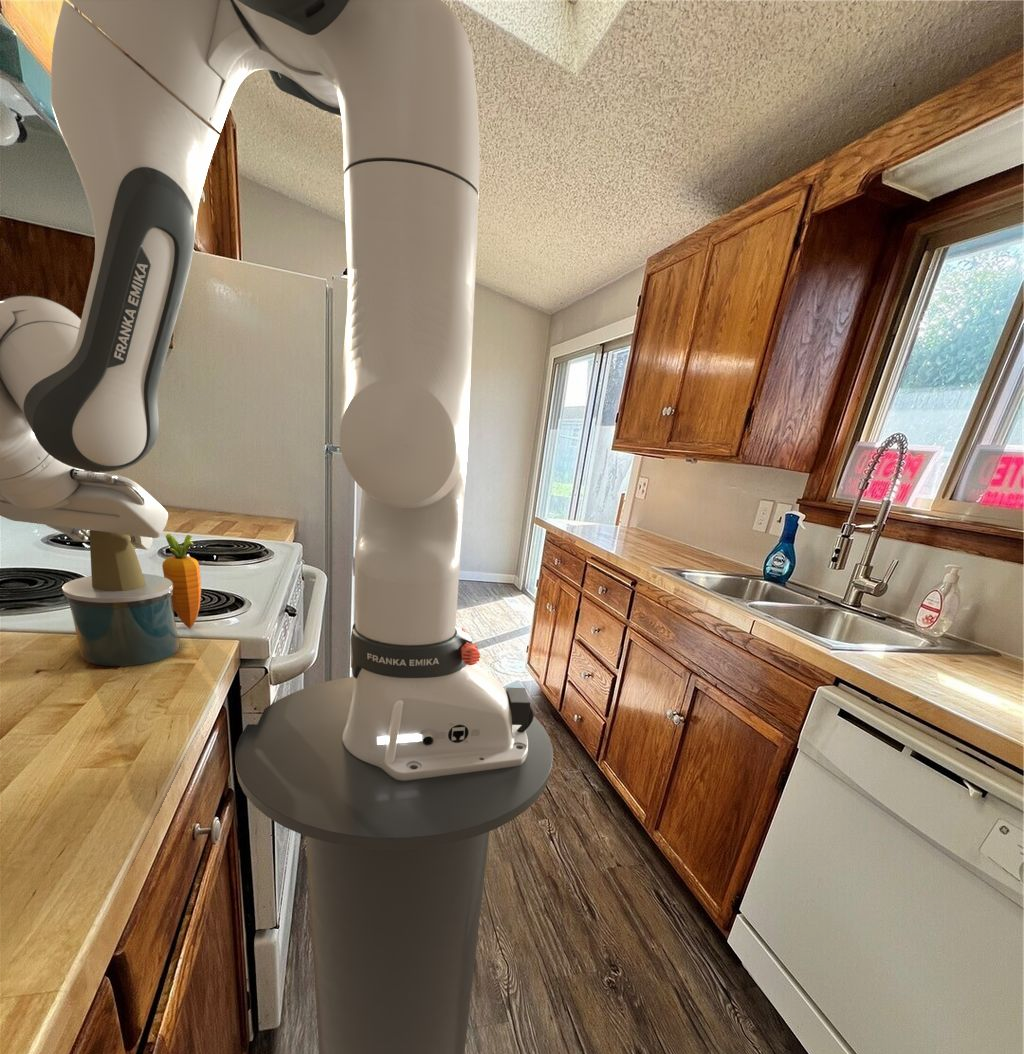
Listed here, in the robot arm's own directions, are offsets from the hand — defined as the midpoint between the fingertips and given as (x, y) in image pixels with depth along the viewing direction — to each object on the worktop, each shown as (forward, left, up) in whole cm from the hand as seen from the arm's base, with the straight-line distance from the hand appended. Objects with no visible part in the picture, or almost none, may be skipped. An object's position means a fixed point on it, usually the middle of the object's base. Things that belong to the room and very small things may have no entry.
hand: (115, 541), depth 73 cm
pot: (0, +1, -15) cm, 15 cm away
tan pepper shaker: (0, +1, -6) cm, 6 cm away
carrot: (-4, -9, -16) cm, 19 cm away
